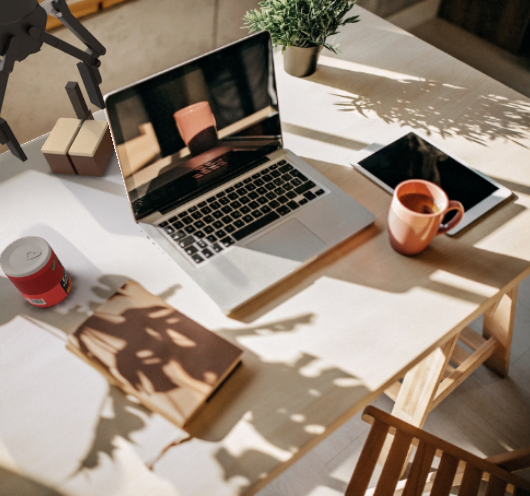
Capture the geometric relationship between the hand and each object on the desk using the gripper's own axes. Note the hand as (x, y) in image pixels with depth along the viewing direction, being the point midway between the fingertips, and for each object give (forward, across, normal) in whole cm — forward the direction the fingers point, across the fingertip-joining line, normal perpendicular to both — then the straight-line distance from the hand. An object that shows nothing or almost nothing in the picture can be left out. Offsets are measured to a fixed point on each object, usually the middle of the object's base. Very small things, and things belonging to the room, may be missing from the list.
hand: (61, 129), depth 70 cm
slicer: (+28, +16, +26) cm, 41 cm away
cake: (+28, +12, +23) cm, 38 cm away
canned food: (+28, -14, +2) cm, 31 cm away
